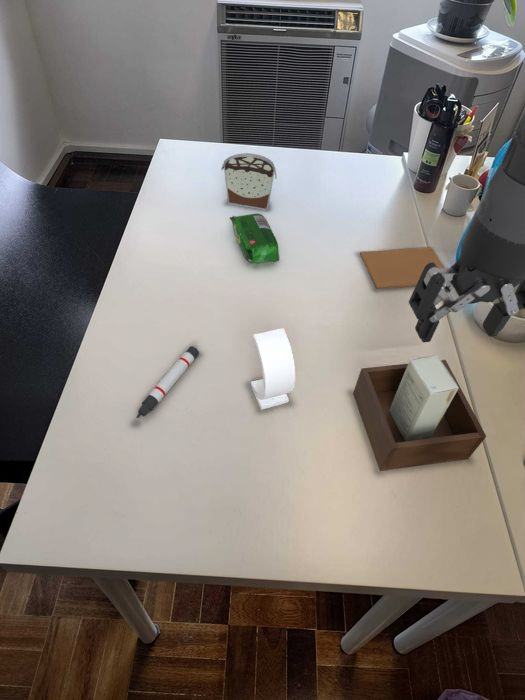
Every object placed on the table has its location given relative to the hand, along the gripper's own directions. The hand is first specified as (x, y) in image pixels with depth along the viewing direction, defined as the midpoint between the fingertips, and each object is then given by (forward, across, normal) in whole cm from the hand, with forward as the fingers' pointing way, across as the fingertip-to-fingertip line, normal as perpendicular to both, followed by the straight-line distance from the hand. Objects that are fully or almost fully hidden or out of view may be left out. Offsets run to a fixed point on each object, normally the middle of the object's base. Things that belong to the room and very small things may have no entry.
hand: (456, 334), depth 56 cm
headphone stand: (+21, -20, +8) cm, 30 cm away
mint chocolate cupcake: (+21, -15, +64) cm, 69 cm away
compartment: (+21, 0, 0) cm, 21 cm away
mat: (+20, +13, +36) cm, 43 cm away
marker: (+21, -36, +12) cm, 43 cm away
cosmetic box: (+20, 0, 0) cm, 20 cm away
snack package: (+21, -17, +46) cm, 53 cm away
